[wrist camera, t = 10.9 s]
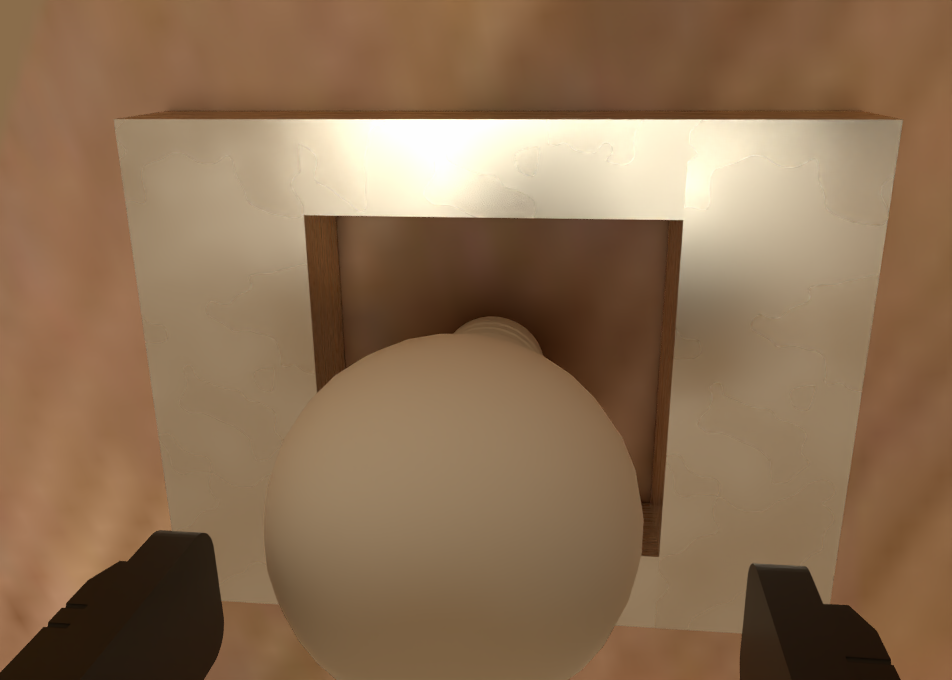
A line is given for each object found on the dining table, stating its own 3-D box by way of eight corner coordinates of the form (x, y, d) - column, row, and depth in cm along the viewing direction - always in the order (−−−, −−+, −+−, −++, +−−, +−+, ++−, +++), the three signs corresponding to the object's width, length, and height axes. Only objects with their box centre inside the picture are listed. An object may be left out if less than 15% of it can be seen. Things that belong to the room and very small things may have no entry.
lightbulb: (353, 422, 23) (166, 742, 12) (410, 202, 20) (243, 365, 10) (572, 490, 22) (572, 869, 12) (653, 277, 20) (735, 519, 10)
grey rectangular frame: (861, 110, 19) (902, 120, 16) (798, 577, 23) (824, 638, 20) (166, 110, 20) (113, 119, 18) (219, 544, 24) (181, 598, 22)
